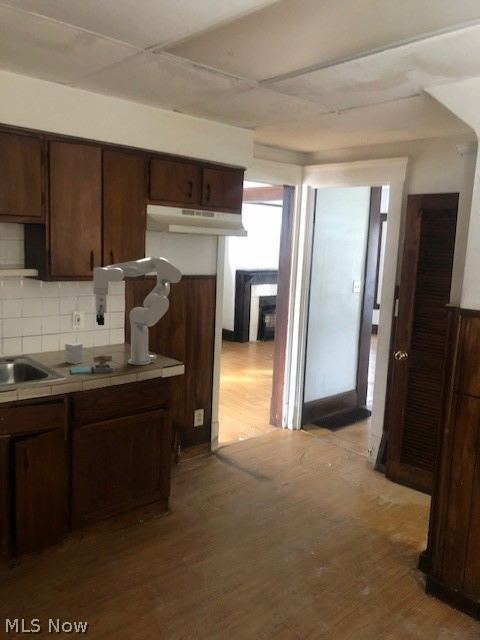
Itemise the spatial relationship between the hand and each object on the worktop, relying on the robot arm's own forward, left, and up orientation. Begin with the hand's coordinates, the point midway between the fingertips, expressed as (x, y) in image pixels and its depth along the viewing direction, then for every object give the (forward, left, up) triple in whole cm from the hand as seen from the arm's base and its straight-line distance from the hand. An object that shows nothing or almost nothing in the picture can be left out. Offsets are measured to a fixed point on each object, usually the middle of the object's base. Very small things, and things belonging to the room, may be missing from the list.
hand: (100, 323), depth 279 cm
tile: (+10, +2, -25) cm, 27 cm away
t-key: (-1, +2, -25) cm, 25 cm away
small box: (+12, -19, -25) cm, 33 cm away
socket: (-1, +2, -25) cm, 25 cm away
